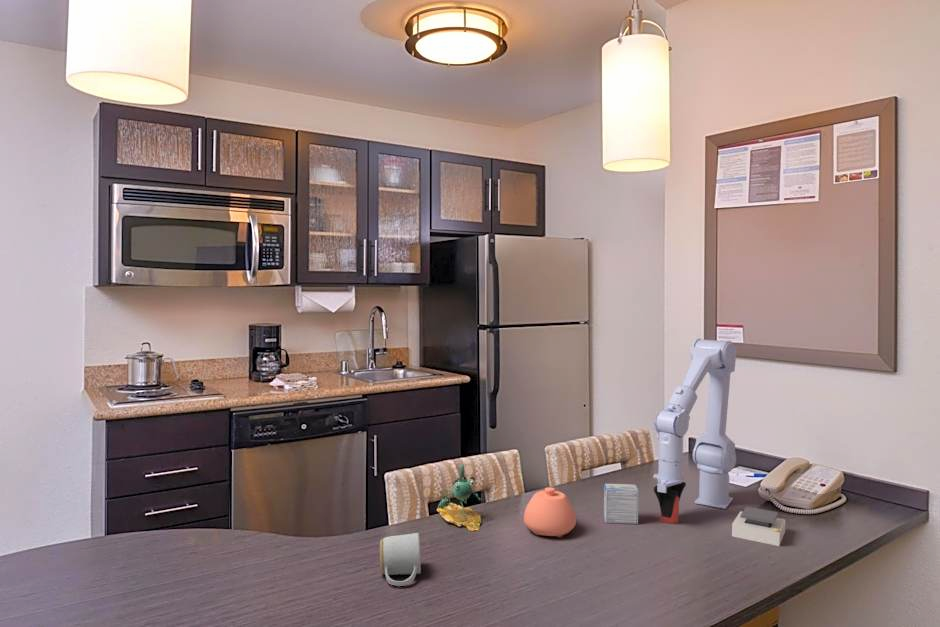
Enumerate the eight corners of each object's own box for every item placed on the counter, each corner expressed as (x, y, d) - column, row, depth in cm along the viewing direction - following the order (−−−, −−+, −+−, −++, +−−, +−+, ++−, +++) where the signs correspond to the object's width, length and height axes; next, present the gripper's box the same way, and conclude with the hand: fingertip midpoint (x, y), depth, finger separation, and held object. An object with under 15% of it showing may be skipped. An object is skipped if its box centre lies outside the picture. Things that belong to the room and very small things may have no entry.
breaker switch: (745, 521, 154) (746, 506, 154) (777, 527, 150) (777, 512, 150) (740, 530, 148) (740, 515, 148) (773, 536, 144) (773, 521, 144)
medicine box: (635, 518, 159) (636, 484, 159) (638, 524, 155) (639, 489, 154) (603, 517, 160) (603, 483, 160) (605, 523, 156) (606, 488, 155)
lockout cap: (663, 516, 161) (663, 492, 161) (680, 519, 158) (681, 495, 158) (657, 521, 157) (658, 497, 157) (675, 525, 155) (676, 500, 154)
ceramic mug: (380, 565, 131) (380, 529, 131) (419, 563, 132) (419, 527, 132) (379, 590, 121) (379, 551, 120) (422, 588, 122) (422, 549, 121)
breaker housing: (740, 523, 156) (740, 508, 156) (785, 532, 151) (785, 517, 151) (731, 536, 148) (732, 521, 148) (779, 546, 142) (779, 530, 142)
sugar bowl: (519, 538, 146) (520, 494, 146) (528, 516, 160) (529, 476, 159) (573, 543, 143) (574, 498, 143) (578, 521, 157) (578, 480, 156)
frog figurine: (461, 505, 168) (465, 451, 166) (493, 536, 152) (498, 477, 150) (428, 509, 164) (431, 455, 162) (457, 542, 148) (461, 482, 146)
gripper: (663, 450, 165) (662, 502, 166) (645, 463, 153) (644, 519, 154) (690, 454, 162) (689, 507, 162) (674, 468, 149) (673, 525, 150)
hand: (669, 513), depth 158 cm, fingers closed on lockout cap, 4 cm apart
